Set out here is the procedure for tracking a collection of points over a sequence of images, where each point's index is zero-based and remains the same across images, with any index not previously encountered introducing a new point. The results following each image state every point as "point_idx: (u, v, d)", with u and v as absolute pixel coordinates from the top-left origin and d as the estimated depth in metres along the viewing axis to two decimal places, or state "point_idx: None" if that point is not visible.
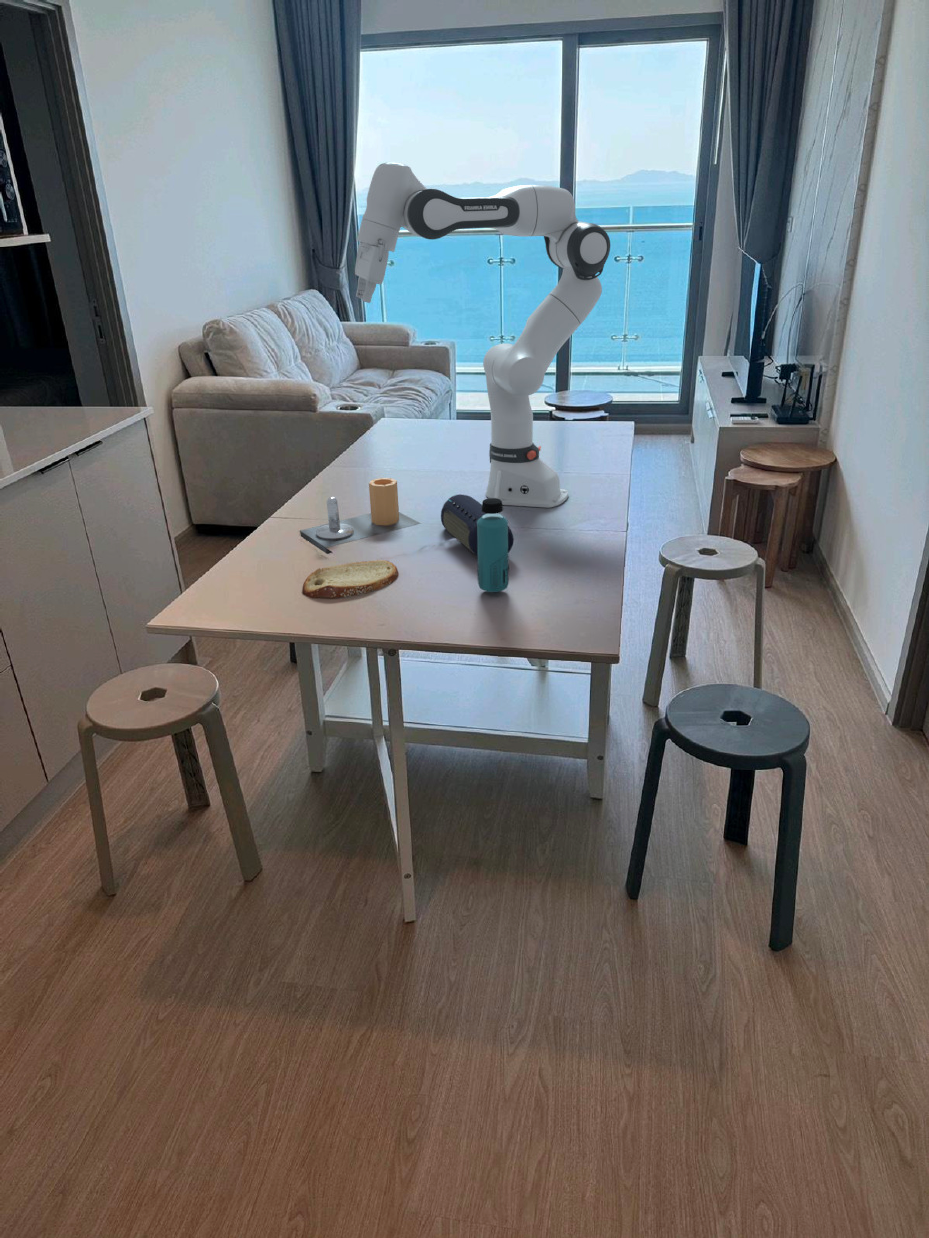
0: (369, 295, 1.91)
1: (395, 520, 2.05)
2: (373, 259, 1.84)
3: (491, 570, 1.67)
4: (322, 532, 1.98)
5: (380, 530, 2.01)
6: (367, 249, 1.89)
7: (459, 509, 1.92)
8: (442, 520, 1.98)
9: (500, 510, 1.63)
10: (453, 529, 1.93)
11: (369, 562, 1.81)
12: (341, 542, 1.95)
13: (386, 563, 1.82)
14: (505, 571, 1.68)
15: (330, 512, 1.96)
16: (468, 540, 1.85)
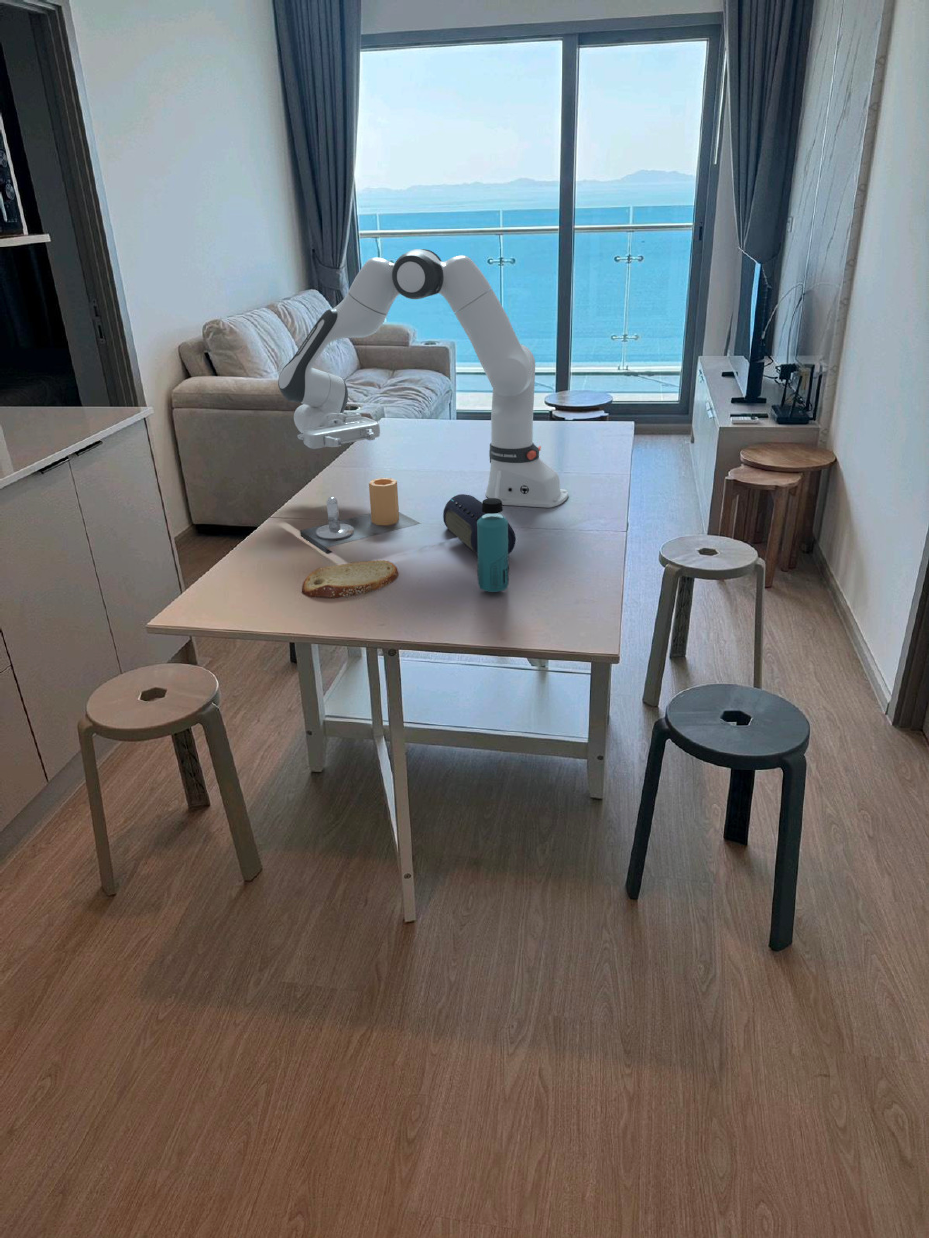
0: (333, 441, 2.06)
1: (395, 520, 2.05)
2: (305, 444, 2.10)
3: (491, 570, 1.67)
4: (322, 532, 1.98)
5: (380, 530, 2.01)
6: None
7: (461, 509, 1.92)
8: (444, 520, 1.98)
9: (500, 510, 1.63)
10: (455, 529, 1.93)
11: (369, 562, 1.82)
12: (341, 542, 1.95)
13: (386, 563, 1.82)
14: (505, 571, 1.68)
15: (330, 512, 1.96)
16: (470, 540, 1.85)
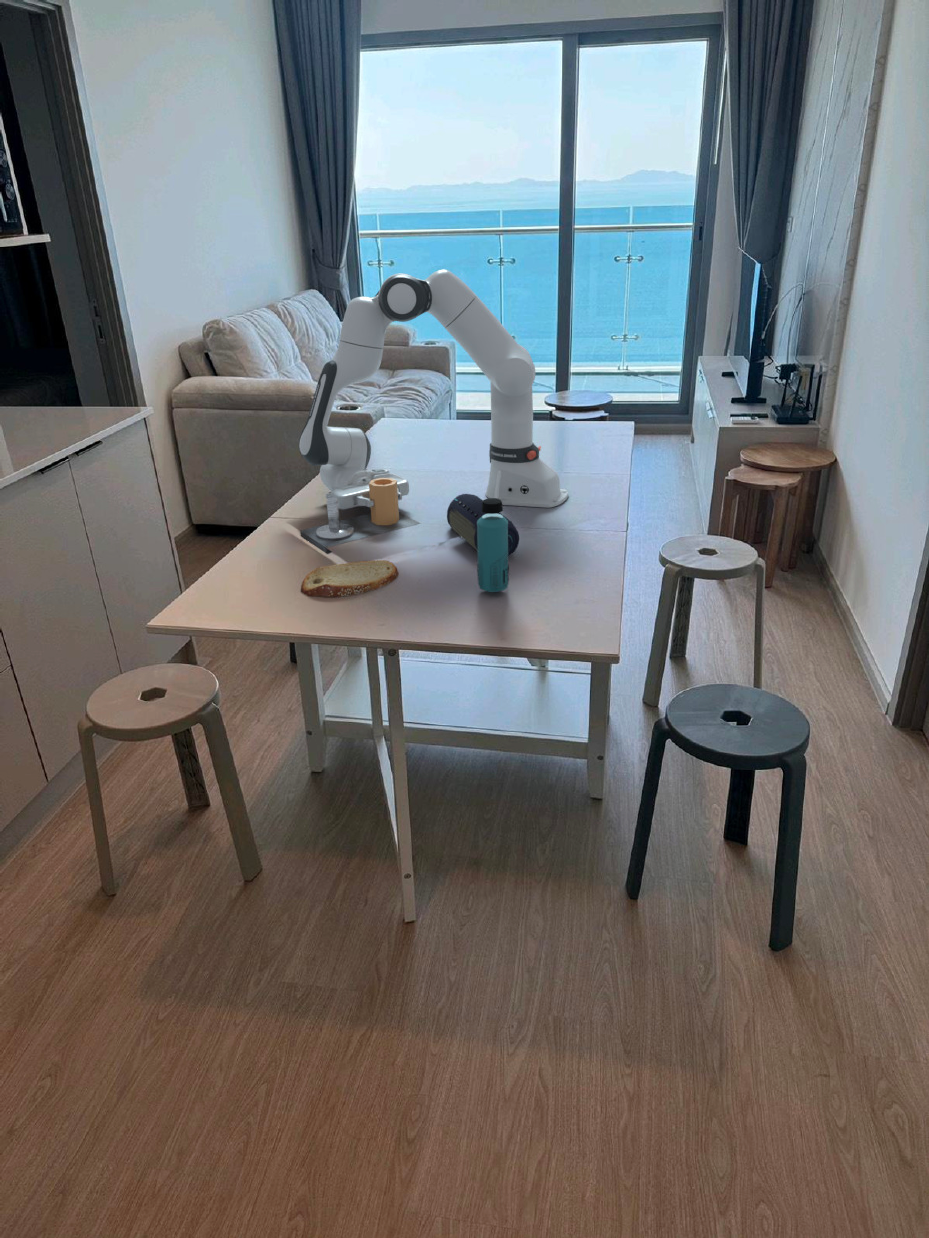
0: (365, 501, 2.03)
1: (395, 520, 2.05)
2: None
3: (491, 570, 1.67)
4: (322, 532, 1.98)
5: (380, 530, 2.01)
6: None
7: (465, 508, 1.92)
8: (448, 519, 1.99)
9: (500, 510, 1.63)
10: (459, 528, 1.93)
11: (369, 562, 1.82)
12: (341, 542, 1.95)
13: (386, 563, 1.82)
14: (505, 571, 1.68)
15: (330, 512, 1.96)
16: (474, 539, 1.85)
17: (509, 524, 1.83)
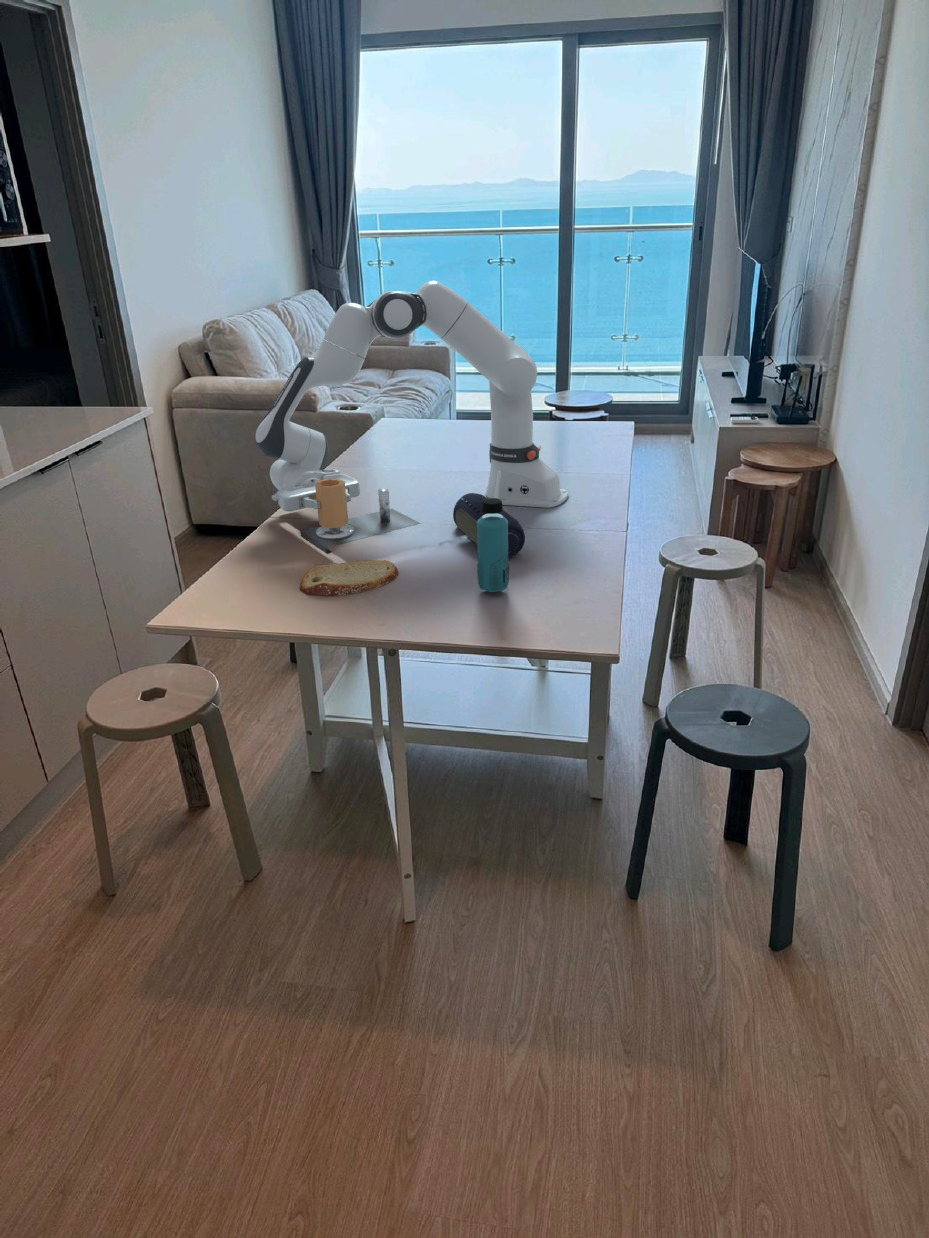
0: (312, 503, 1.94)
1: (343, 522, 1.97)
2: (280, 506, 1.98)
3: (491, 570, 1.67)
4: (322, 532, 1.98)
5: (380, 530, 2.01)
6: None
7: (471, 507, 1.93)
8: (454, 518, 1.99)
9: (500, 510, 1.63)
10: (465, 527, 1.93)
11: (370, 561, 1.82)
12: (341, 542, 1.95)
13: (386, 563, 1.82)
14: (505, 571, 1.68)
15: None
16: None
17: (515, 523, 1.83)
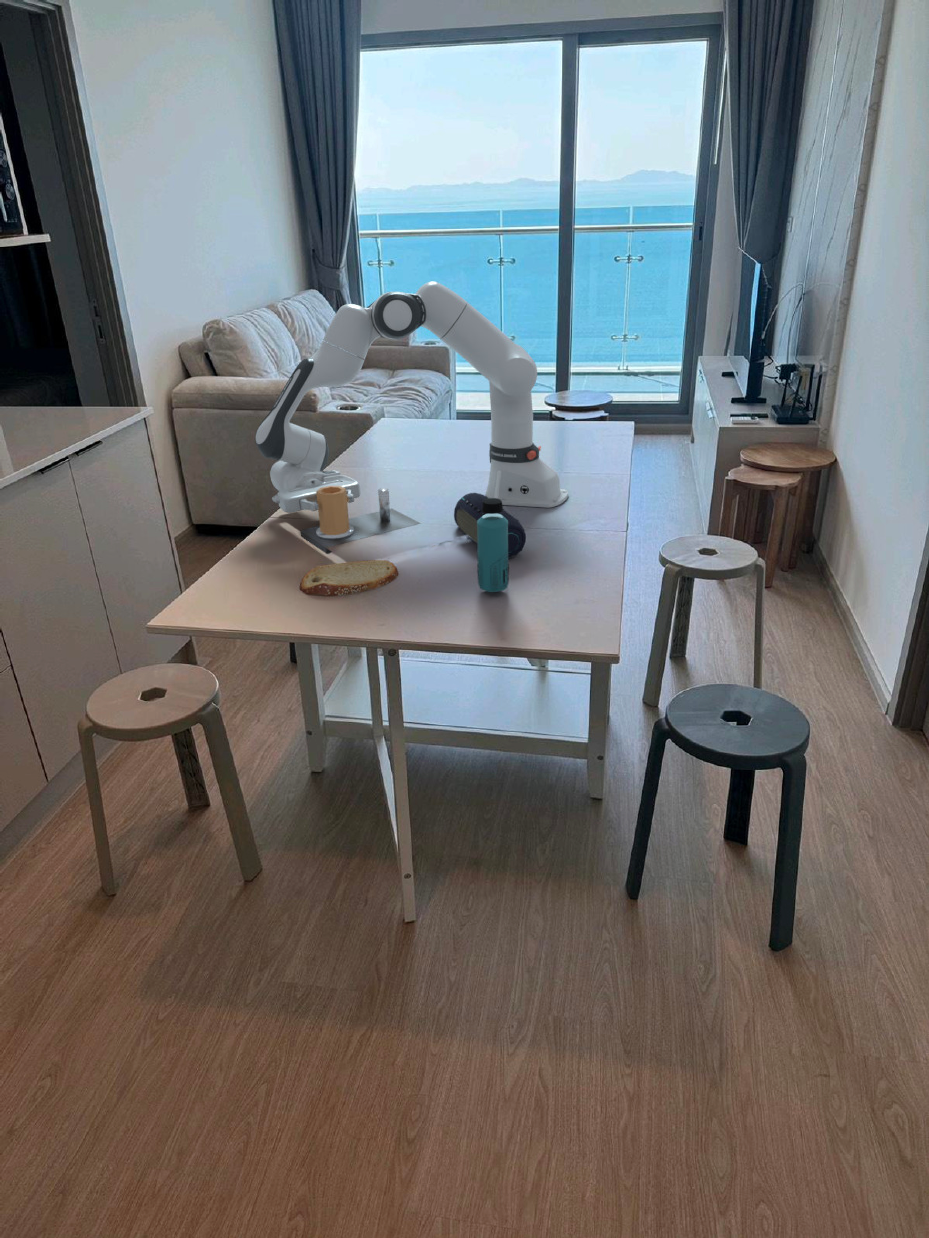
0: (309, 505, 1.94)
1: (344, 530, 1.97)
2: (280, 507, 1.98)
3: (491, 570, 1.67)
4: None
5: (380, 530, 2.01)
6: None
7: (472, 507, 1.93)
8: (455, 518, 1.99)
9: (500, 510, 1.63)
10: (466, 527, 1.94)
11: (370, 561, 1.82)
12: (341, 542, 1.95)
13: (386, 563, 1.82)
14: (505, 571, 1.68)
15: None
16: None
17: (516, 523, 1.83)
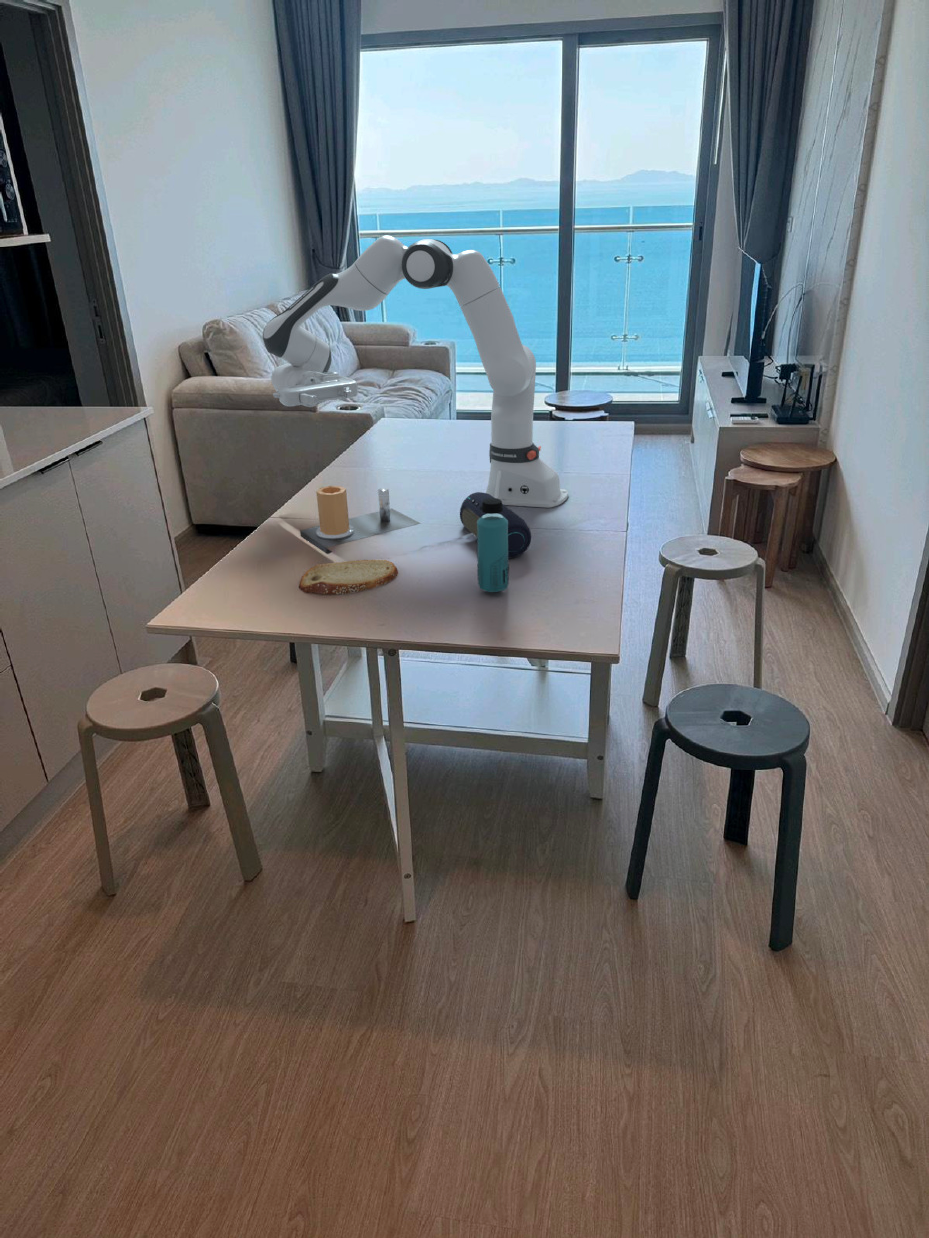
0: (308, 398, 2.02)
1: (344, 530, 1.97)
2: (281, 402, 2.06)
3: (491, 571, 1.67)
4: None
5: (380, 530, 2.01)
6: None
7: (478, 507, 1.93)
8: (461, 517, 2.00)
9: (500, 510, 1.63)
10: (471, 526, 1.94)
11: (370, 561, 1.82)
12: (341, 542, 1.95)
13: (386, 563, 1.82)
14: (505, 571, 1.68)
15: None
16: None
17: (521, 523, 1.84)
